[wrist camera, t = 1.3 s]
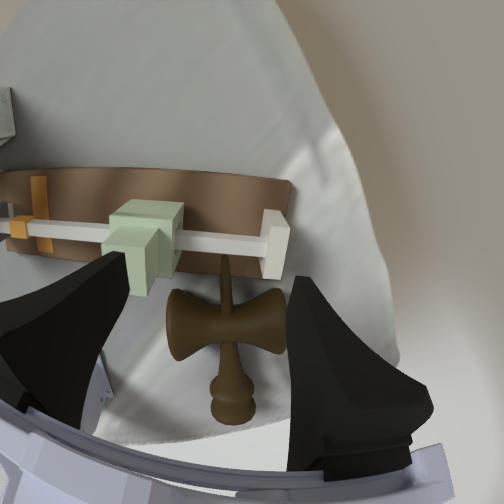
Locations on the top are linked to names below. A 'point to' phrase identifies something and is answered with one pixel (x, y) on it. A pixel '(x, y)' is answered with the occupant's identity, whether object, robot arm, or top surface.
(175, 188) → the board
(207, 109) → the top surface
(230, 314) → the kendama
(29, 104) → the top surface
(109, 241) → the sleeve
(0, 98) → the syrup box
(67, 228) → the linear slide rail
